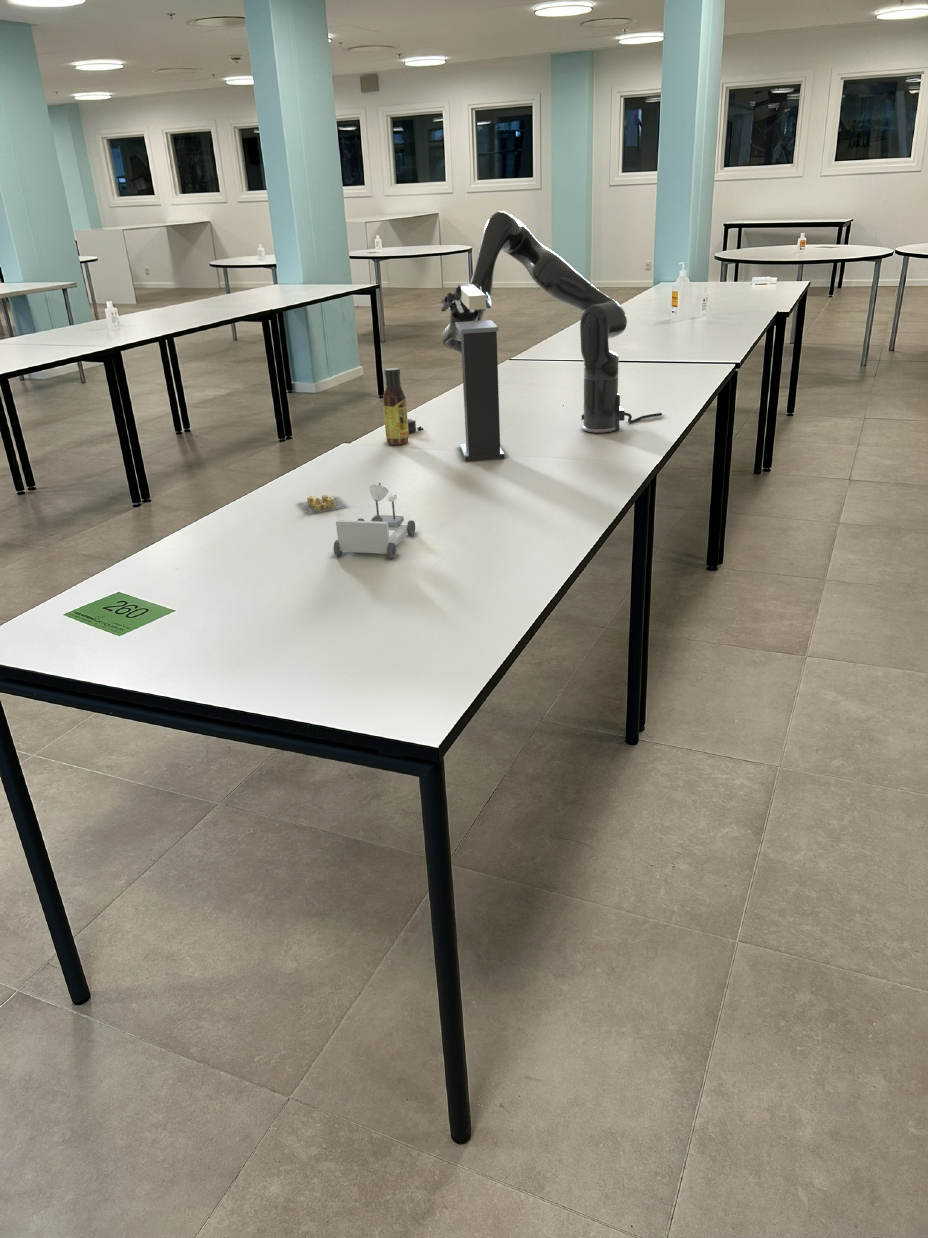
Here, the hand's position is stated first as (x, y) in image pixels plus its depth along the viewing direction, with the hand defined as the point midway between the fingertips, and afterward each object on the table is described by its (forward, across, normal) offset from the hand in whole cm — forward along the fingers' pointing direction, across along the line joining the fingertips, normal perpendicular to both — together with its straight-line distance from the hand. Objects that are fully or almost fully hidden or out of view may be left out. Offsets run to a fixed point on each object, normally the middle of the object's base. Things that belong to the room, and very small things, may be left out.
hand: (468, 288), depth 228 cm
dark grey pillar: (-7, 0, +41) cm, 41 cm away
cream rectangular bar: (+3, 0, +5) cm, 6 cm away
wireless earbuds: (-32, -17, +26) cm, 45 cm away
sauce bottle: (-22, -21, +32) cm, 45 cm away
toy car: (+44, -28, +70) cm, 88 cm away
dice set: (+21, -40, +57) cm, 73 cm away
